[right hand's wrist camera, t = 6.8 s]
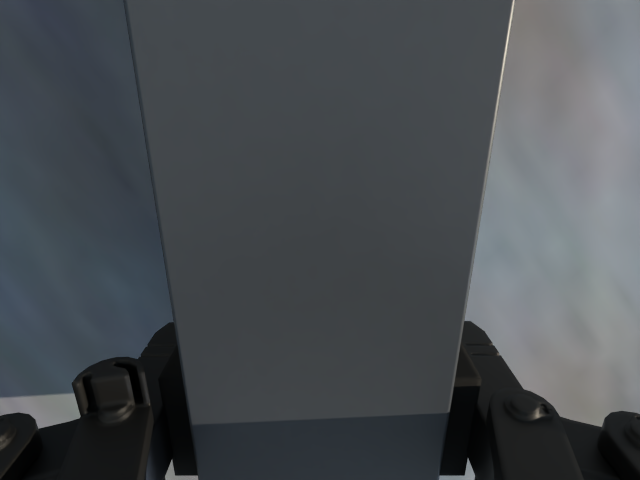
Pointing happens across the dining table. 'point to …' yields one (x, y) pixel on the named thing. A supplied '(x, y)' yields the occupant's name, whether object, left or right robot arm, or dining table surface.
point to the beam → (319, 220)
